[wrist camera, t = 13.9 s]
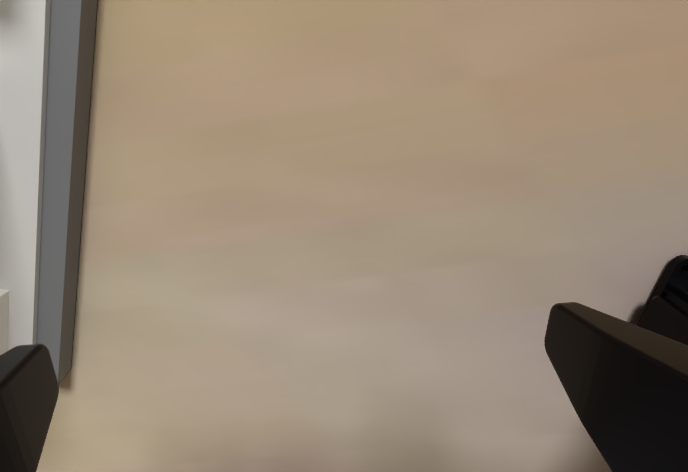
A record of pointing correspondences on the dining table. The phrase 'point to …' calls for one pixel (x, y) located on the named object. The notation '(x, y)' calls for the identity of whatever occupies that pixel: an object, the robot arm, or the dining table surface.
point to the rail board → (43, 168)
